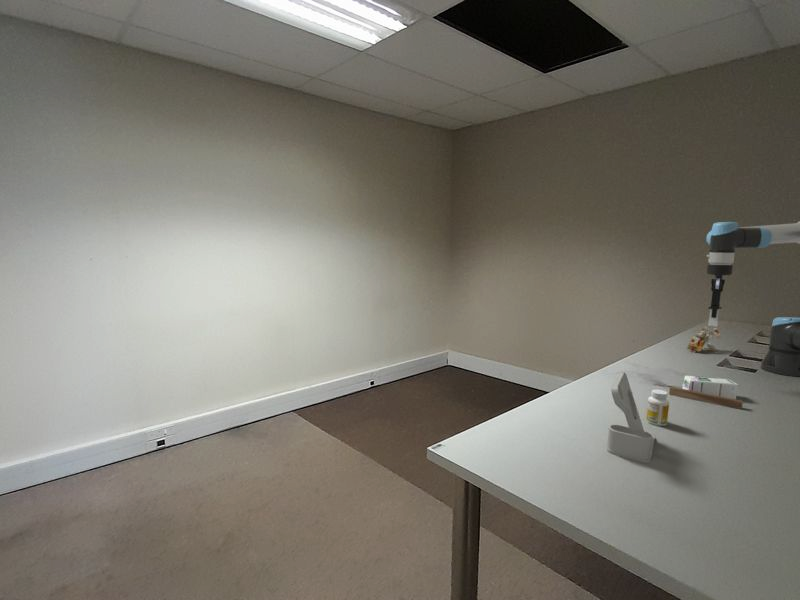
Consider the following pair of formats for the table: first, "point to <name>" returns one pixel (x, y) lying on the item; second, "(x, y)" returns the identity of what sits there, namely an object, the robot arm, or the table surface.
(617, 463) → the table surface
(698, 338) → the voxel character
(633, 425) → the phone holder
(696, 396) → the walnut stop rail
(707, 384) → the syrup box
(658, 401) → the supplement bottle
